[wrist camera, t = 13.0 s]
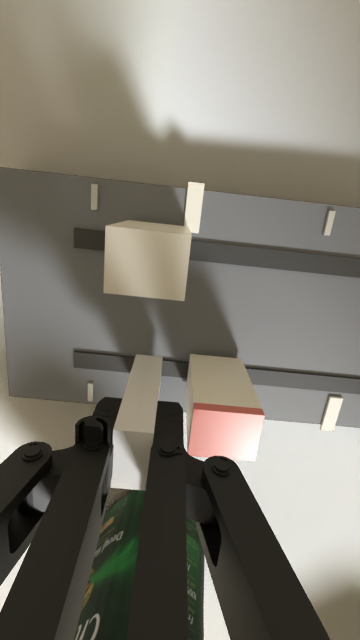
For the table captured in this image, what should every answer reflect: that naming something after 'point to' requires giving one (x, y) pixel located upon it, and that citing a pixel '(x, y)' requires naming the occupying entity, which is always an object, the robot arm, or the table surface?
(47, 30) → the table surface
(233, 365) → the block
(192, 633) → the coffee jar
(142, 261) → the fader front
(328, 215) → the console
